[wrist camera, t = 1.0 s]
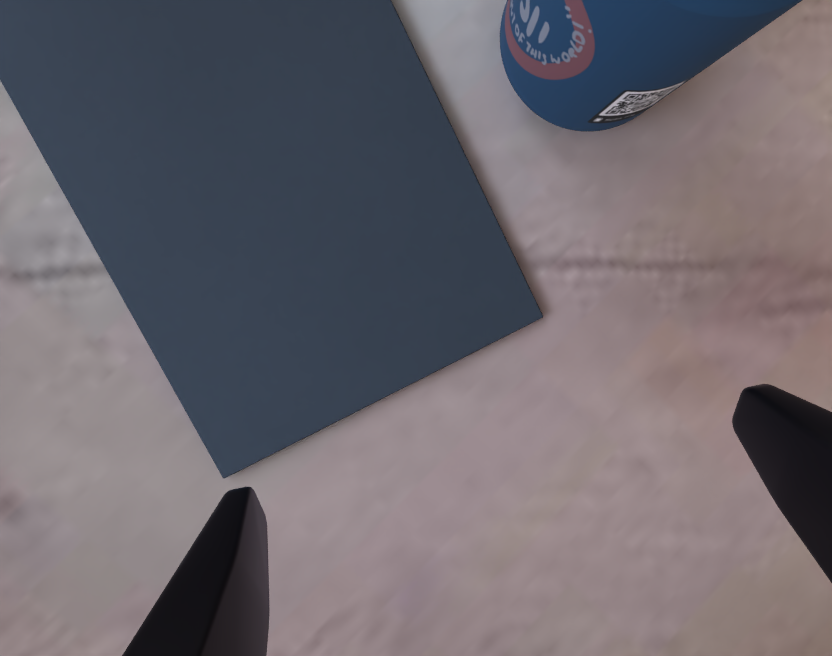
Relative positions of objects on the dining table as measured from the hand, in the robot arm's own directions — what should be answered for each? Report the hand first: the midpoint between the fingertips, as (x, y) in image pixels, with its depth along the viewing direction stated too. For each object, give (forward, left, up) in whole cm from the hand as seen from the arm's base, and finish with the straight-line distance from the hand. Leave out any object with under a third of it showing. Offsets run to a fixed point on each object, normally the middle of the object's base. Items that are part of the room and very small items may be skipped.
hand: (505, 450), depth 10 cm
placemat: (+11, +3, -13) cm, 17 cm away
